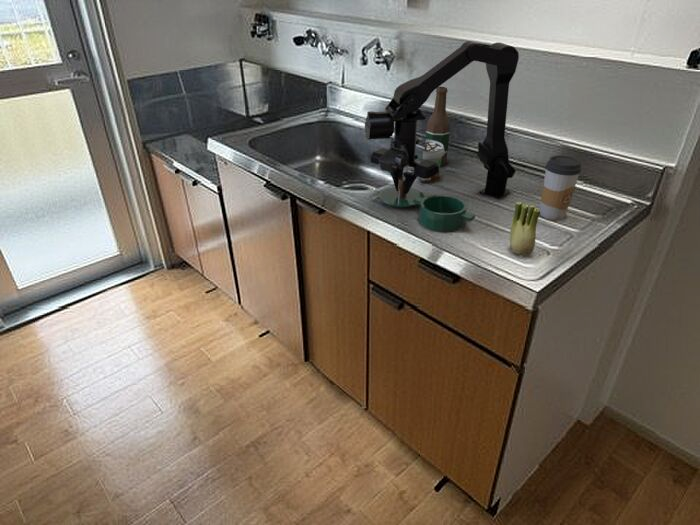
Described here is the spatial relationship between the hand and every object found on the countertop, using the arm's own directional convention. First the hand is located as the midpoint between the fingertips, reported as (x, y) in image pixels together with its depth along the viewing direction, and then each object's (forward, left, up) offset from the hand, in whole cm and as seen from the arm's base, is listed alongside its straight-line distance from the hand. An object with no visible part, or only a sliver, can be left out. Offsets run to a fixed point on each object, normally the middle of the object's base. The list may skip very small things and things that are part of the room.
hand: (402, 192), depth 136 cm
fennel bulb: (+5, +37, -3) cm, 37 cm away
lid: (0, 0, -2) cm, 2 cm away
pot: (+3, +15, -3) cm, 16 cm away
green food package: (-20, -3, -3) cm, 20 cm away
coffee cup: (-19, +35, -3) cm, 40 cm away
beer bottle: (-31, -9, -3) cm, 32 cm away
